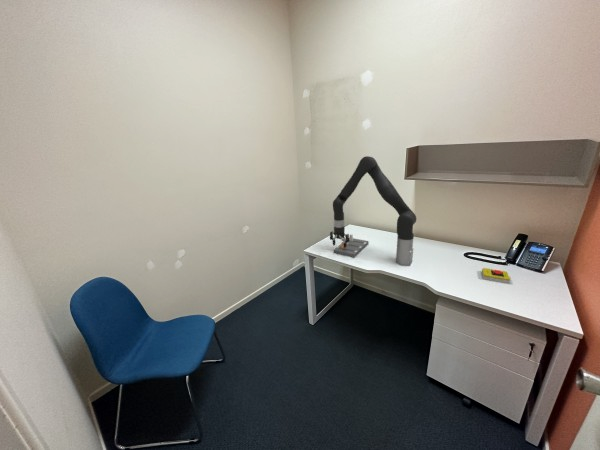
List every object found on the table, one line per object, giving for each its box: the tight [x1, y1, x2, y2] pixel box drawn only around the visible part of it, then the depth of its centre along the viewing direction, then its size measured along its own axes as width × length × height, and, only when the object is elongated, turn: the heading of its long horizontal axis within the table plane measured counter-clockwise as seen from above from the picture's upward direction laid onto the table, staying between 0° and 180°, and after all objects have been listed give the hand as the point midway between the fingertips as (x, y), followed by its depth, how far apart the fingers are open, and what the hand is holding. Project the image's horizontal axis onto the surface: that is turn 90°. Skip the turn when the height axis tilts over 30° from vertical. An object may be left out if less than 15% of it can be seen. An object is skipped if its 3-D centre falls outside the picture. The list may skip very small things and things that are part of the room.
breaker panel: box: [333, 234, 370, 259], centre depth 184 cm, size 16×26×7 cm, turn 144°
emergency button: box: [476, 267, 513, 285], centre depth 138 cm, size 9×4×15 cm
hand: (339, 246), depth 182 cm, fingers open, 8 cm apart
